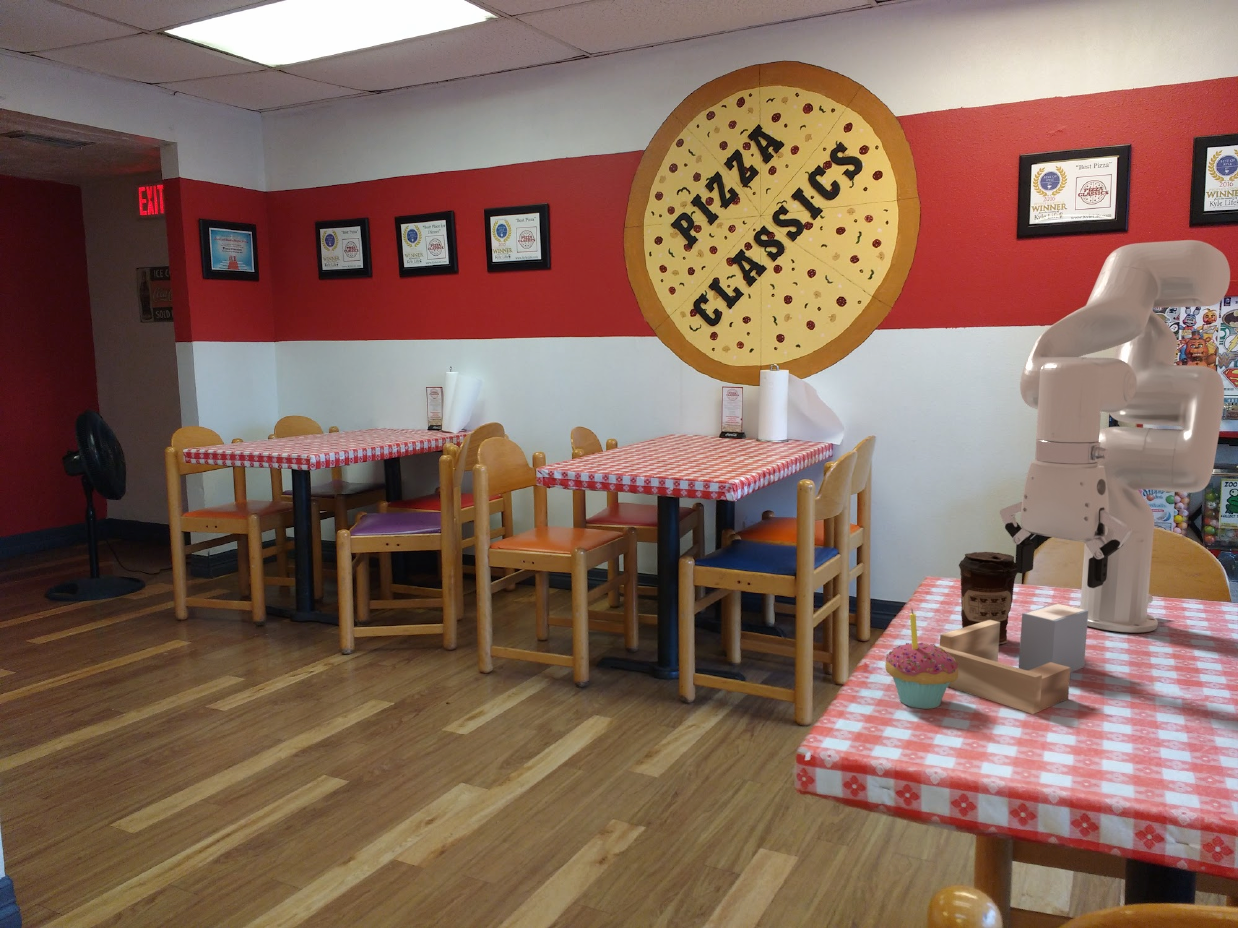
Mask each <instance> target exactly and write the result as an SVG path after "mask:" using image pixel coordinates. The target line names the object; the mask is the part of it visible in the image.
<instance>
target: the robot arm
mask: <svg viewBox="0 0 1238 928" xmlns="http://www.w3.org/2000/svg"><path fill="white" fill-rule="evenodd" d="M1230 281H1231V269H1230V265H1229V262H1228V260H1227V257H1226V256H1225V254H1224V253H1223V252H1222V251H1221V250H1219V249H1217V248H1216V247H1215V246H1213V245H1211V244H1209V243H1208V242H1204V241H1201V240H1196V239H1195V240H1194V239H1184V240H1181V239H1180V240H1170V241H1169V240H1168V241H1152V242H1140V243H1138V242H1137V243H1130V244H1127V245H1123V246H1120V247H1119V248H1116V249H1114V250H1113V251H1112V252H1111V253H1110V254H1109V255H1108V256H1107V258H1106V259H1105V261H1104V263H1103V265H1102V267H1101V270H1100V272H1099V274H1098V276H1097V278H1096V281H1095V283H1094V286H1093V288H1092V291H1091V293H1090V296H1089V297H1088V300H1087V301H1086V304H1085V305H1084V306H1083V307H1080V308H1078V309H1077V310H1075V311H1073V312H1071V313H1070V314H1068V315H1066V316H1065V317H1063V318H1061V319H1060V320H1058V321H1056V322H1055V323H1053V324H1052V325H1051V326H1049V327H1048V328H1046V329H1045V330H1043V332H1042V333H1041V334H1040V335H1039V337H1037V339H1036V341H1035V342H1034V344H1033V346H1032V348H1031V350H1030V352H1029V354H1028V357H1027V359H1026V361H1025V363H1024V366H1023V369H1022V372H1021V375H1020V382H1019V389H1020V390H1019V391H1020V395H1021V399H1022V400H1023V402H1024V403H1025V404H1026V405H1027V406H1028V407H1030V408H1032V409H1036V410H1037V418H1036V419H1037V420H1036V423H1037V424H1036V440H1035V456H1034V457H1035V459H1034V460H1032V461H1030V463H1029V467H1028V470H1027V473H1026V479H1025V482H1024V488H1023V493H1022V500H1021V501H1020V502H1016V503H1015V504H1012V505H1010V506H1007V507H1004V508H1001V509H1000V510H999V514H1000V517H1001V520H1002V522H1003V524H1004V529H1005V531H1006V532H1007V533H1008V535H1009V536H1010V537H1011V538H1012V543H1013V544H1014V545H1015V559H1014V562H1015V563H1016V565H1017V574H1024V573H1025V574H1026V573H1027V572H1031V571H1033V569H1034V561H1035V560H1034V559H1035V555H1034V554H1035V543H1034V542H1033V541H1031V540H1032V539H1033V538H1034V537H1035V536H1036V535H1037V536H1044V537H1050V538H1055V539H1061V540H1068V541H1073V542H1081V543H1083V544H1084V549H1083V550H1084V551H1083V552H1084V553H1083V563H1082V564H1083V565H1082V579H1081V592H1080V593H1081V594H1080V605H1075V606H1073V607H1074V608H1079V609H1083V610H1087V611H1088V622H1087V627H1089V628H1093V629H1098V630H1103V631H1109V632H1116V633H1117V632H1118V633H1119V632H1120V633H1128V634H1129V633H1133V634H1135V633H1139V634H1141V633H1149V632H1152V631H1155V630H1156V629H1158V624H1159V623H1158V620H1157V618H1155V617H1154V616H1153V615H1150V614H1148V608H1149V607H1148V606H1149V604H1151V603H1152V602H1153V600H1154V597H1153V595H1152V594H1151V593H1150V592H1149V591H1150V582H1151V570H1152V568H1151V566H1152V556H1153V543H1154V542H1153V541H1154V533H1155V532H1154V531H1155V515H1154V512H1153V510H1152V508H1151V506H1150V505H1149V503H1148V502H1147V500H1146V499H1145V497H1144V496H1143V495H1142V493H1141V492H1140V490H1145V491H1147V490H1151V491H1161V492H1172V493H1173V492H1174V493H1184V494H1185V493H1190V494H1191V493H1199V492H1201V491H1203V490H1205V488H1206V487H1208V485H1209V483H1210V481H1211V478H1212V475H1213V471H1214V466H1215V460H1216V459H1215V458H1216V454H1217V448H1218V442H1219V435H1220V430H1221V429H1220V428H1221V423H1222V419H1223V411H1224V404H1225V403H1224V401H1225V388H1224V387H1225V386H1224V381H1223V378H1222V376H1221V375H1220V373H1219V372H1217V370H1215V369H1213V368H1212V367H1208V366H1204V365H1184V364H1183V365H1181V364H1180V365H1176V364H1175V360H1176V359H1175V358H1176V355H1177V349H1178V339H1177V337H1176V335H1175V333H1174V332H1173V330H1172V329H1171V328H1170V326H1169V325H1168V323H1166V322H1165V321H1164V320H1163V319H1162V318H1161V317H1160V316H1159V315H1158V314H1157V313H1156V312H1155V311H1154V310H1153V308H1195V307H1197V308H1198V307H1211V306H1215V305H1217V304H1219V303H1220V302H1221V301H1222V300H1223V298H1225V295H1226V294H1227V292H1228V289H1229V286H1230ZM1115 347H1116V348H1115ZM1112 348H1115V355H1114V358H1113V357H1086V355H1090V354H1094V353H1098V352H1102V351H1106V350H1109V349H1112ZM1101 414H1109V416H1111V417H1112V419H1114V420H1116V421H1118V422H1122V423H1128V424H1135V425H1149V426H1152V425H1153V426H1166V427H1167V426H1171V427H1172V426H1173V427H1181V428H1182V429H1167V428H1162V429H1161V428H1153V427H1136V426H1110V427H1105V428H1101V416H1102V415H1101ZM1017 514H1020V524H1019V523H1018V522H1017V519H1016V515H1017Z"/></svg>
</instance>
